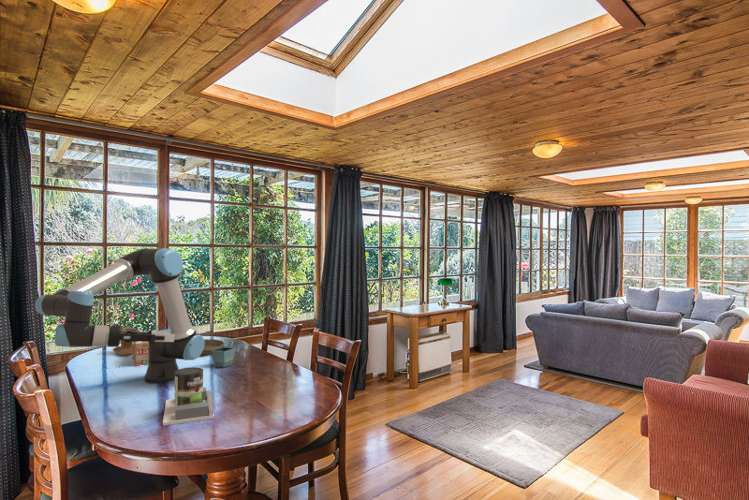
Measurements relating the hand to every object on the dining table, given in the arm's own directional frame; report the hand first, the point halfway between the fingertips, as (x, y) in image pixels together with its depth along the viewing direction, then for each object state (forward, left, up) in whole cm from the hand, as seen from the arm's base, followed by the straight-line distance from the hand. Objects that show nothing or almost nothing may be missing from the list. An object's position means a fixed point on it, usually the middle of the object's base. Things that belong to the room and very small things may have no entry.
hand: (172, 336), depth 167 cm
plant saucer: (-60, +75, -29) cm, 100 cm away
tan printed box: (-72, +46, -28) cm, 90 cm away
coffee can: (+7, +2, -27) cm, 28 cm away
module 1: (+14, -4, -27) cm, 31 cm away
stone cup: (-94, +55, -28) cm, 113 cm away
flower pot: (-24, +56, -28) cm, 67 cm away
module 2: (+1, +9, -27) cm, 28 cm away
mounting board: (+7, +2, -28) cm, 29 cm away
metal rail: (+12, +7, -27) cm, 30 cm away
